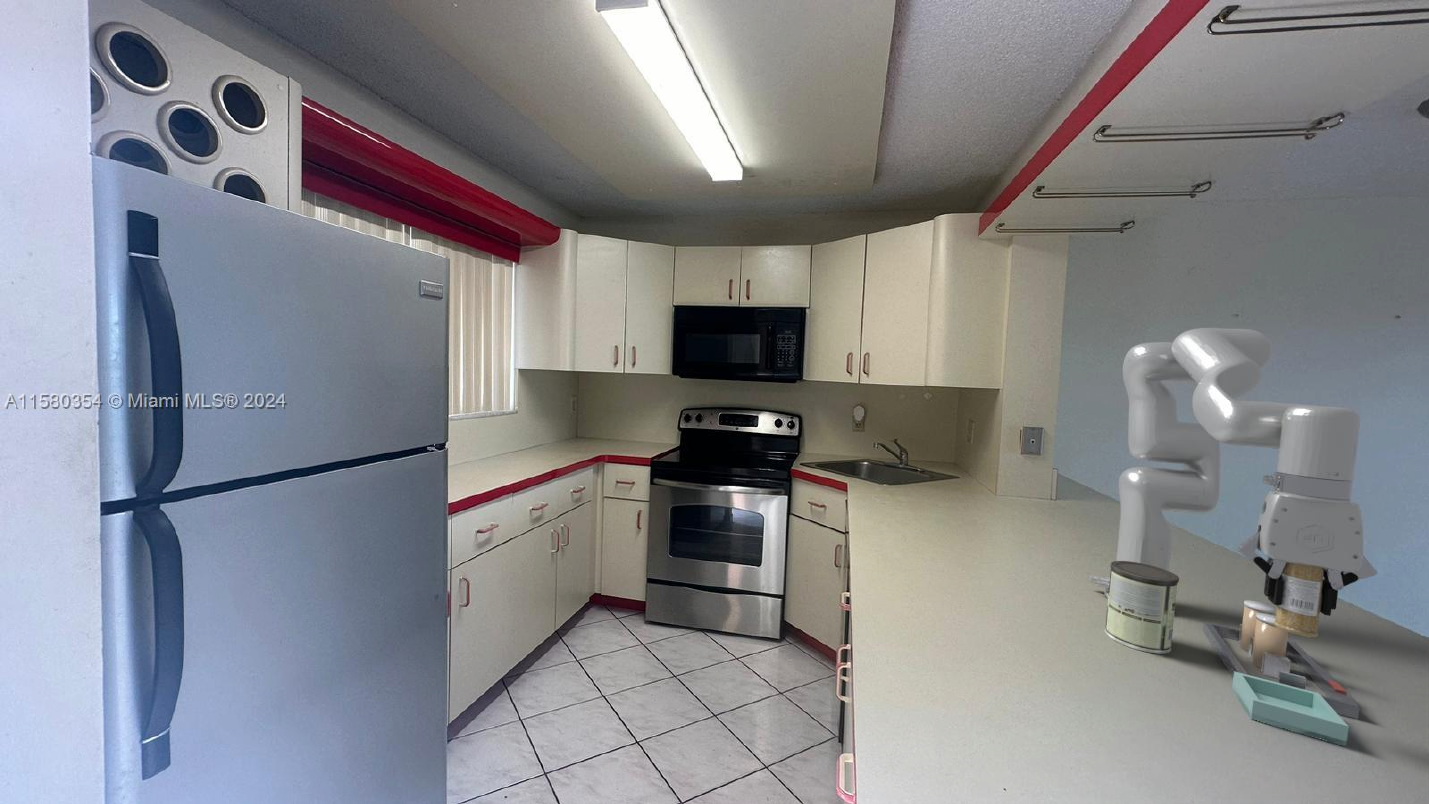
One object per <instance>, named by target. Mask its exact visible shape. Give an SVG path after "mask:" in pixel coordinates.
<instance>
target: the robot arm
mask: <svg viewBox="0 0 1429 804" xmlns="http://www.w3.org/2000/svg"><path fill="white" fill-rule="evenodd" d="M1272 354H1273V347H1272V344H1271V341H1270V340H1269V338H1268V337H1267V335H1265V334H1264V333H1262V332H1260V331H1257V330H1254V329H1249V328H1223V327H1222V328H1221V327H1220V328H1219V327H1199V328H1193V329H1190V330H1186V331H1184V332H1181V334H1179V335H1178V336H1176V338H1175V339H1174V340H1173V342H1167V341H1163V342H1162V341H1160V342H1159V341H1157V342H1144V343H1143V342H1142V343H1140V344H1137V345H1135V346H1132V347H1130V349H1129V350H1128V351H1127V353H1126V355H1125V357H1124V360H1123V363H1122V379H1123V383H1124V387H1125V390H1126V393H1127V398H1128V423H1127V424H1128V428H1127V429H1128V431H1127V432H1128V437H1127V443H1128V450H1129V453H1130V455H1131V456H1132V457H1134V458H1135V459H1138V460H1140V461H1141V460H1142V461H1149V462H1155V463H1165V464H1166V463H1167V464H1177V465H1178V464H1180V465H1182V469H1173V468H1172V469H1171V468H1164V467H1151V466H1135V467H1130V468H1127V469H1126V470H1124V471H1123V472H1122V473H1121V474H1120V477H1119V479H1118V493H1119V504H1120V511H1119V512H1120V515H1119V528H1118V541H1117V550H1116V560H1115V561H1130V562H1137V563H1142V564H1147V565H1151V566H1155V567H1158V568H1162V569H1164V570H1167V571H1169V572H1170V567H1171V557H1172V549H1173V543H1174V541H1173V539H1174V532H1173V529H1172V526H1171V524H1170V522H1168V520H1167V519H1166V517H1165V516H1164V514H1163V512H1174V513H1183V514H1184V513H1185V514H1194V515H1204V514H1208V513H1209V514H1210V513H1211V512H1212V511H1215V510H1214V509H1216V507H1217V506H1218V503H1219V499H1220V493H1221V492H1220V490H1221V489H1220V488H1221V486H1220V485H1221V484H1220V481H1221V480H1220V479H1221V445H1220V443H1223V444H1224V445H1225V444H1226V445H1230V446H1236V447H1237V446H1239V447H1252V448H1253V447H1255V448H1267V449H1268V448H1269V449H1276V450H1279V451H1278V458H1277V467H1276V471H1275V472H1274V474H1273V475H1265V474H1264V475H1263V476H1262V484H1263V485H1269V486H1271V487H1272V488H1273V489H1274V491H1272V490H1270V491H1268V493H1267V495H1266V496H1265V499H1264V502H1263V505H1262V507H1261V511H1260V514H1259V518H1258V521H1257V525H1256V526H1257V527H1256V531H1255V534H1253V535H1252V536H1250V537H1249V538H1248V539H1246V540H1245V541H1244V542H1243V543H1241V544H1240V545H1239V546H1237V548H1236V549H1237V551H1238V552H1240V553H1241V554H1242V555H1243V556H1245V557H1246V558H1248V559H1249V560H1250V561H1252V562H1253V563H1254V564H1255V565H1257V567H1258V568H1259V569H1261V571H1262V572H1263V573H1265V579H1264V586H1263V587H1264V589H1263V593H1264V596H1265V597H1267V599H1268V600H1269V602H1270V603H1271V604H1273V605H1274V606H1277V605H1278V606H1279V605H1281V604H1282V596H1283V588H1284V581H1283V580H1282V579H1281V573H1282V571H1283V568H1284V566H1285V564H1286V562H1289V563H1295V564H1300V565H1306V566H1312V567H1318V568H1324V574H1323V585H1322V601H1321V609H1320V614H1322V615H1324V616H1329V617H1331V614H1332V610H1336V609H1337V603H1338V594H1339V591H1341V590H1344V587H1346V586H1349V585H1351V584H1353V583H1356V582H1357V581H1359V580H1364V579H1367V578H1370V577H1371V578H1372V577H1375V576H1377V574H1378V571H1377V570H1376V568H1375V567H1374V566H1373V565H1372V564H1371V562H1370V561H1369V560H1368V559H1367V558H1366V557H1365V555H1364V529H1363V517H1362V511H1361V506H1360V503H1358V502H1357V503H1356V502H1353V501H1351V499H1352V492H1353V491H1352V490H1353V483H1354V474H1355V468H1356V467H1355V466H1356V460H1357V459H1356V458H1357V450H1358V444H1359V436H1360V426H1361V417H1360V415H1359V413H1358V412H1357V411H1356V410H1354V409H1351V408H1348V407H1347V408H1346V407H1340V406H1339V407H1338V406H1324V405H1323V406H1322V405H1321V406H1320V405H1310V404H1302V403H1290V402H1289V403H1287V402H1286V403H1285V402H1278V401H1277V402H1276V401H1275V402H1273V401H1257V400H1237V398H1240V397H1242V396H1244V395H1247V394H1249V393H1250V392H1251V391H1252V390H1254V389H1255V388H1256V387H1257V386H1258V385H1259V383H1260V382H1261V379H1262V376H1263V375H1262V368H1264V367H1265V366H1267V364H1268V362H1270V360H1271V357H1272ZM1162 381H1170V382H1171V381H1174V382H1192V383H1196V384H1197V385H1196V387H1195V389H1194V391H1193V394H1192V400H1191V402H1192V403H1191V404H1192V411H1193V415H1194V417H1195V419H1196V420H1197V422H1198V423H1195V422H1186V421H1185V422H1182V421H1178V416H1177V412H1178V411H1177V410H1178V406H1177V405H1178V403H1177V399H1176V397H1175V395H1173V392H1171V390H1170V389H1169V388H1168V387H1167V385H1165V384H1164V383H1163V382H1162ZM1256 550H1258V551H1260V552H1262V553H1263V555H1264V556H1267V558H1266V559H1264V558H1263V557H1261V556H1260V555H1259V554H1257V552H1256ZM1089 583H1090V584H1095V585H1096V586H1097V587H1100V588H1104V596H1105V597H1106V598H1107V599H1108V595H1109V584H1110V576H1106V577H1101V576H1099V575H1094V574H1090V575H1089Z"/></svg>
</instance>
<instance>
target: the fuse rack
mask: <svg viewBox="0 0 1429 804" xmlns="http://www.w3.org/2000/svg"><path fill="white" fill-rule="evenodd" d="M1241 631H1242V623H1239V629H1238V628H1234V627H1229V626H1224V625H1220V624H1215V623H1212V622H1208V621H1207V622H1206V621H1203V625H1202V632H1203V634H1204V635H1205V637H1206V638H1207V641H1208V642H1209V643H1210V645H1211V646H1212V648H1213V649H1214V651H1215V653H1216V654H1217V655H1218V657H1219V658H1220V661H1222V663H1223V665H1224V666H1225V668H1226V669H1227V671H1228V672H1229V674H1230V675H1231V677H1232V678H1233V677H1234V671H1235V672H1238V673H1242V674H1246V675H1249V674H1248V673H1247V671H1246V669H1244V666H1243V665H1242V664H1241V663H1240V662H1239V660H1238V659H1237V657H1236V656H1235V655H1234V652H1233V651H1232V649H1230V647H1229V646H1228V645H1227V643H1226V641H1225V640H1224V638H1225V639H1231V640H1235V641H1238V643H1240V640H1241ZM1253 645H1254V637H1250V646H1249V652H1248V656H1249V657H1250V658H1252V654H1253ZM1287 653H1288V655H1289V656H1290V657H1291V658H1292V659H1293V660H1294V662H1296V663H1297V665H1298V666H1299V668H1301V669H1302V670H1303V671H1304V672H1305V673H1306V674H1307V675H1308V677H1309V678H1311V680H1312V681H1313V682H1314V683H1315V684H1316V685H1317V687H1319V689H1320V690H1322V691H1323V692H1324V694H1325V695H1322V694H1320V695H1321V696H1322V697H1323V699H1324V700H1325V701H1326V702H1327V703H1328V704H1329V705H1330V706H1331V707H1332V709H1333V710H1334V711H1335V712H1336V713H1337V714H1338V715H1339V716H1340V715H1341V716H1345V717H1348V718H1352V719H1354V720H1358V719H1359V713H1360V706H1359V704H1358V703H1356V702H1355V700H1353V699H1352V698H1351V697H1350V696H1349V694H1347V693H1348V692H1347V690H1346V689H1345V688H1344V687H1342V685H1340V683H1338V682H1336V681H1334V680H1333V678H1332V677H1331V676H1330V675H1329V674H1327V672H1326V671H1324V669H1322V667H1321V666H1320V665H1319V664H1318V663H1317V662H1316V661H1314V659H1313V658H1312V657H1311V656H1309V654H1308V653H1307V652H1306V651H1305V650H1304V649H1303V648H1302V647H1301V646H1300V645H1299V644H1298V643H1297V642H1295V641H1291V640H1287V647H1286V654H1287ZM1291 663H1292V661H1291V660H1290V659H1289V658H1288V657H1287V656H1285V657H1283V656H1278V655H1274V654H1270V653H1266V652H1263V660H1262V668H1260V671H1261V673H1262V674H1263V675H1264V676H1267V677H1271V678H1276V679H1277V680H1276V682H1277V683H1281V684H1285V685H1289V686H1293V687H1296V688H1300V689H1304V690H1306V684H1307V678H1306V677H1305V676H1302V675H1300V674H1294V673H1292V672H1291V671H1290V670H1291ZM1290 672H1291V673H1290Z"/></svg>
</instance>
